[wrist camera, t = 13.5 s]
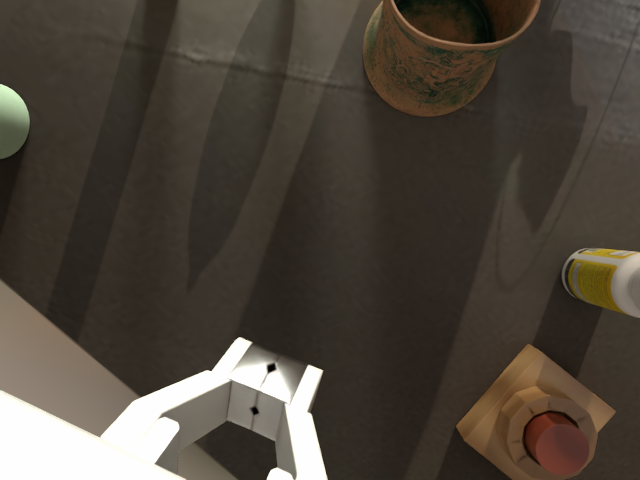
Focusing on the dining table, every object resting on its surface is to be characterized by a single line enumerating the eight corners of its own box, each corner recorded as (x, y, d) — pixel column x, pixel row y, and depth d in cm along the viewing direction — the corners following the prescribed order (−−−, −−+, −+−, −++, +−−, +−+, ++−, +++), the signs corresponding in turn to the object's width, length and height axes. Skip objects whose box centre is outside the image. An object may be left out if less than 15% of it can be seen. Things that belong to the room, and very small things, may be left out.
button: (552, 470, 29) (565, 485, 27) (513, 439, 29) (524, 452, 28) (585, 433, 29) (601, 447, 27) (546, 402, 29) (559, 413, 27)
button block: (523, 481, 33) (549, 517, 29) (455, 426, 33) (471, 454, 29) (597, 399, 32) (634, 424, 28) (527, 343, 32) (554, 359, 28)
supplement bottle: (583, 311, 32) (671, 343, 24) (548, 272, 32) (623, 289, 24) (627, 276, 32) (731, 294, 23) (591, 236, 32) (682, 240, 23)
